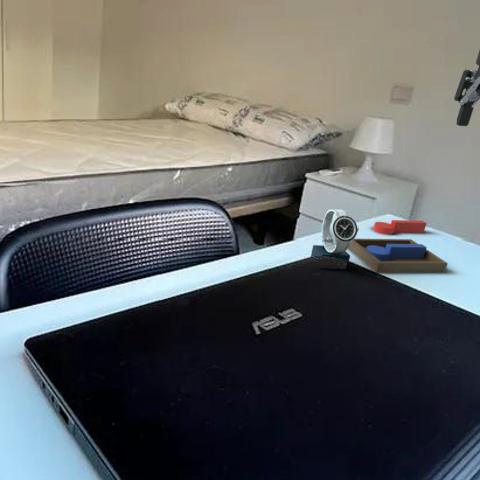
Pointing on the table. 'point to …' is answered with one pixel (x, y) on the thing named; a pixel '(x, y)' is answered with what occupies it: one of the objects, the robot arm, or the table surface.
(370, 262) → the tray
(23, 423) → the table surface
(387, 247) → the blue spoon
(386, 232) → the red spoon
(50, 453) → the table surface
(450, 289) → the table surface
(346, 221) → the watch
